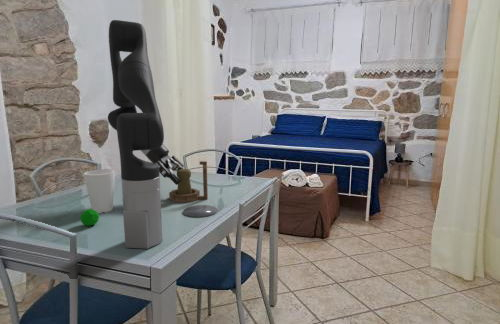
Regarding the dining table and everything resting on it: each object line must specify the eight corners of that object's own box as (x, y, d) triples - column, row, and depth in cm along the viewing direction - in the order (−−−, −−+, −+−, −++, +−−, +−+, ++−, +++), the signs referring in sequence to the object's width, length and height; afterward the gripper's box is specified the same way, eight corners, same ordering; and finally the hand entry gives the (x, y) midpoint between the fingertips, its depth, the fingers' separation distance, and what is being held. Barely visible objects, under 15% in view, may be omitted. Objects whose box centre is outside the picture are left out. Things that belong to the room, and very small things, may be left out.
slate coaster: (213, 217, 112) (213, 216, 112) (178, 216, 114) (178, 214, 114) (220, 207, 123) (220, 205, 123) (189, 206, 125) (188, 204, 124)
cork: (189, 201, 131) (188, 171, 129) (173, 200, 132) (172, 170, 130) (195, 196, 137) (194, 168, 135) (180, 195, 138) (179, 167, 136)
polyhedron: (78, 225, 107) (77, 209, 106) (95, 221, 110) (94, 206, 109) (85, 229, 103) (83, 213, 102) (102, 225, 106) (101, 209, 106)
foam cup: (88, 207, 123) (85, 170, 121) (117, 204, 127) (114, 168, 124) (86, 216, 115) (83, 176, 112) (117, 212, 118) (114, 173, 116)
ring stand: (203, 203, 128) (202, 164, 126) (166, 201, 130) (164, 163, 127) (210, 195, 138) (209, 159, 136) (175, 194, 140) (174, 158, 138)
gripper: (150, 144, 126) (182, 177, 125) (167, 139, 139) (196, 169, 139) (137, 158, 128) (169, 192, 127) (155, 152, 141) (184, 182, 141)
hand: (183, 180), depth 133 cm, fingers open, 8 cm apart
